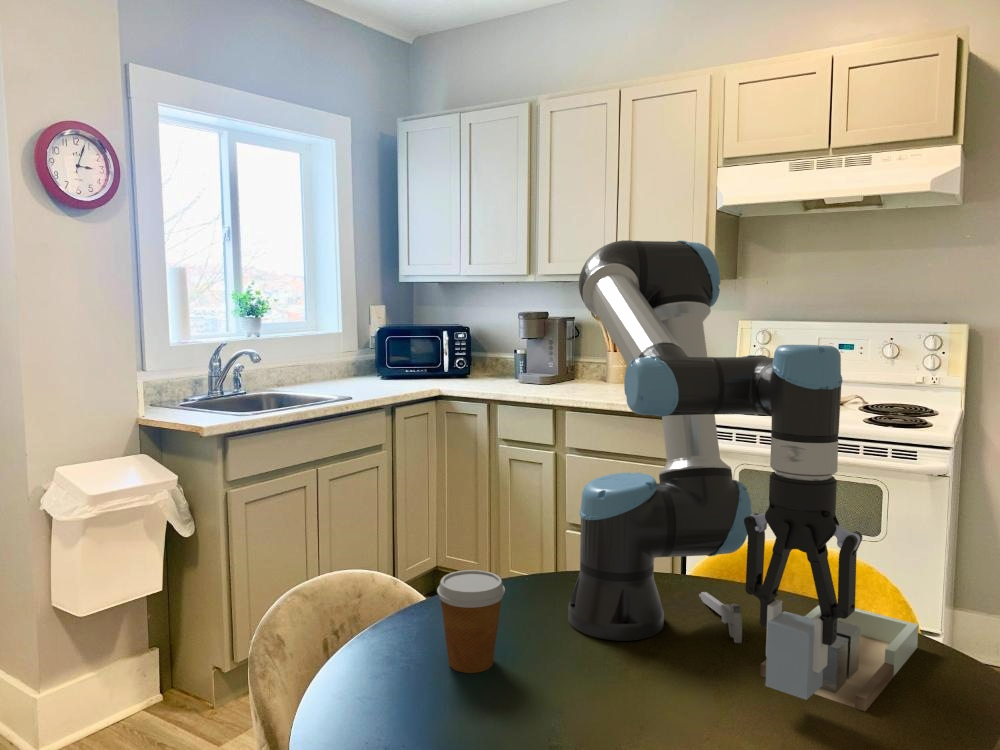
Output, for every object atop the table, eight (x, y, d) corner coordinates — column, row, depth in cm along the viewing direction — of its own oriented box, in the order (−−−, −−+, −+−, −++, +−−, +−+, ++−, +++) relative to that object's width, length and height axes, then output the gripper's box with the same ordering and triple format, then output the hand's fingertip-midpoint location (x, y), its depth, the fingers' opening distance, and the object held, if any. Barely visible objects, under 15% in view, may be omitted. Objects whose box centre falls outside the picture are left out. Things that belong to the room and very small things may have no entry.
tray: (794, 646, 112) (795, 623, 112) (823, 621, 121) (824, 600, 121) (893, 676, 103) (894, 651, 103) (917, 647, 112) (918, 624, 112)
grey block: (765, 686, 93) (767, 622, 93) (782, 672, 97) (784, 611, 96) (806, 699, 90) (809, 633, 89) (822, 685, 93) (825, 622, 93)
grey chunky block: (810, 667, 106) (812, 625, 105) (821, 657, 109) (823, 616, 108) (848, 679, 102) (850, 636, 102) (858, 669, 105) (860, 627, 105)
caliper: (742, 649, 113) (743, 608, 113) (734, 649, 113) (736, 608, 113) (704, 597, 134) (705, 562, 133) (698, 597, 134) (699, 562, 133)
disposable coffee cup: (423, 663, 108) (423, 580, 107) (471, 641, 115) (471, 564, 114) (470, 686, 101) (471, 599, 100) (518, 662, 108) (519, 580, 107)
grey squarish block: (797, 680, 102) (798, 637, 101) (808, 669, 105) (810, 627, 104) (835, 693, 99) (837, 648, 98) (846, 682, 101) (848, 638, 101)
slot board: (760, 680, 103) (760, 663, 103) (823, 626, 121) (824, 611, 121) (864, 717, 94) (865, 698, 94) (916, 652, 112) (917, 637, 112)
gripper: (718, 467, 95) (713, 648, 97) (873, 490, 83) (864, 697, 85) (744, 459, 100) (739, 630, 102) (893, 479, 88) (884, 673, 90)
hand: (796, 660), depth 93 cm, fingers closed on grey block, 5 cm apart
